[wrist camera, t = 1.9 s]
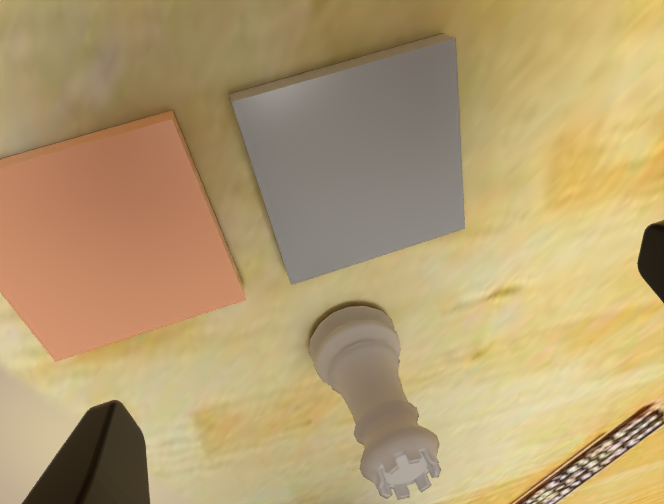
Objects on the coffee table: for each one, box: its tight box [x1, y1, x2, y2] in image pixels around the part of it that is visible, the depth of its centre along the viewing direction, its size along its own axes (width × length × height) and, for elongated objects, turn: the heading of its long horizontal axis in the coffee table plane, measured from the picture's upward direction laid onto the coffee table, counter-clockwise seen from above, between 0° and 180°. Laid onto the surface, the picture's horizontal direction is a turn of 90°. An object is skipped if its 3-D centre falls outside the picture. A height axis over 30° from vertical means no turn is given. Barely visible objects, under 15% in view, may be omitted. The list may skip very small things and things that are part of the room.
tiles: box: [0, 34, 465, 361], centre depth 19 cm, size 8×18×1 cm, turn 102°
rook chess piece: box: [309, 306, 441, 500], centre depth 21 cm, size 4×4×8 cm
